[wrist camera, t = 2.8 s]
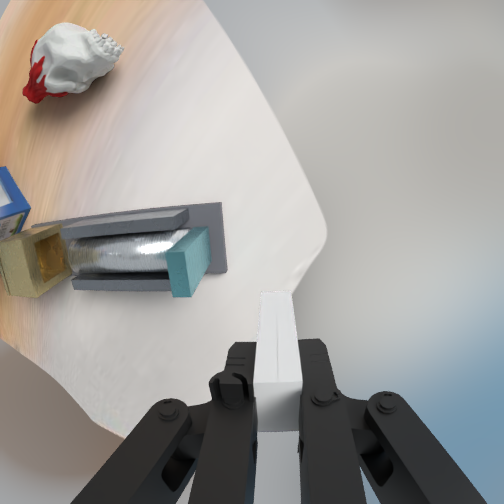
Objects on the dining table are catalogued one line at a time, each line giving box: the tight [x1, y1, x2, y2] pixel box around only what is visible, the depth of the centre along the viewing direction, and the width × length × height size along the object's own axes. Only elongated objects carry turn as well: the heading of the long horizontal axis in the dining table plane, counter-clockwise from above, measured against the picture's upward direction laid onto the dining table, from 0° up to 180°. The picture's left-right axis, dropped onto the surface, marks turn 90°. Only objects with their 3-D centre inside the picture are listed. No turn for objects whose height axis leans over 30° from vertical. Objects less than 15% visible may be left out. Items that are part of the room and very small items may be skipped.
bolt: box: [68, 226, 212, 297], centre depth 25 cm, size 16×4×8 cm, turn 94°
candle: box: [23, 23, 124, 104], centre depth 21 cm, size 9×11×15 cm
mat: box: [31, 202, 227, 275], centre depth 31 cm, size 29×8×1 cm, turn 93°
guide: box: [0, 208, 191, 298], centre depth 27 cm, size 25×7×8 cm, turn 94°
